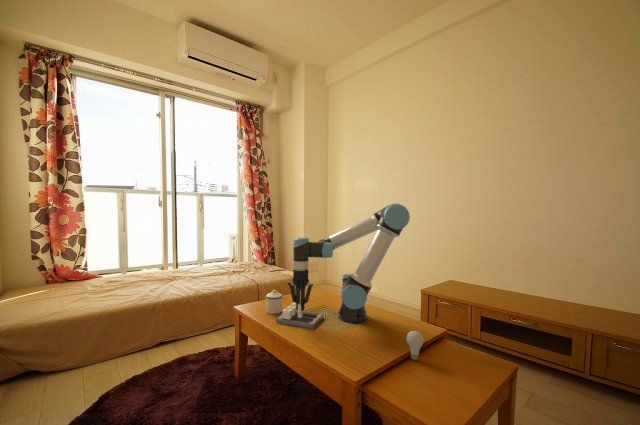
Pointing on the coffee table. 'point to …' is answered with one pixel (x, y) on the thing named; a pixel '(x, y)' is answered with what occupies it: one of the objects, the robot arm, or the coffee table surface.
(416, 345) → the lightbulb
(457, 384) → the coffee table surface
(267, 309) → the teacup with lid
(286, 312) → the breaker
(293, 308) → the breaker
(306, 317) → the panel
